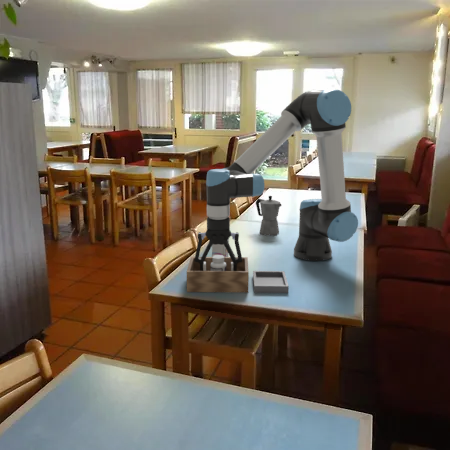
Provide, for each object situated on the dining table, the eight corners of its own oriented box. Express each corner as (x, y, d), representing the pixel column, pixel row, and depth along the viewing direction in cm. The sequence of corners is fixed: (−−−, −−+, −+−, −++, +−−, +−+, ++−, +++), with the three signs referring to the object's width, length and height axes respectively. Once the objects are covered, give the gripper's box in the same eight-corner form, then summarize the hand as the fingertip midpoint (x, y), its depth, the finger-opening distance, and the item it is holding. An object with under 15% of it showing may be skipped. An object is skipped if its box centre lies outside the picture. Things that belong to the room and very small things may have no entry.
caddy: (247, 275, 164) (247, 257, 162) (248, 292, 149) (248, 272, 148) (191, 275, 164) (191, 256, 163) (186, 291, 150) (186, 271, 148)
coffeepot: (286, 233, 218) (287, 196, 213) (273, 237, 211) (274, 199, 207) (261, 227, 228) (262, 192, 224) (249, 231, 222) (249, 194, 217)
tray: (284, 277, 163) (284, 271, 162) (288, 292, 149) (288, 286, 148) (252, 277, 163) (253, 270, 162) (254, 292, 149) (254, 285, 149)
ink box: (224, 269, 170) (224, 239, 167) (211, 268, 171) (211, 238, 168) (228, 262, 178) (229, 232, 175) (216, 261, 179) (216, 232, 176)
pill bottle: (218, 279, 161) (218, 253, 158) (229, 283, 157) (229, 256, 154) (207, 283, 157) (207, 256, 154) (218, 287, 153) (218, 260, 151)
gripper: (250, 214, 154) (249, 277, 160) (186, 213, 155) (188, 276, 160) (251, 219, 147) (250, 285, 153) (184, 219, 148) (185, 285, 153)
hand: (218, 281), depth 157 cm, fingers open, 9 cm apart
